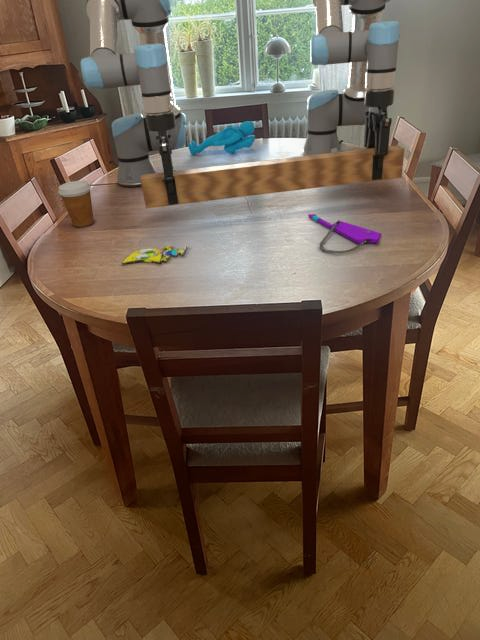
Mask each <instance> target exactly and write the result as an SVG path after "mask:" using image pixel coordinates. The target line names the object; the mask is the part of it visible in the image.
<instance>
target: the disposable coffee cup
mask: <svg viewBox="0 0 480 640" xmlns="http://www.w3.org/2000/svg"><path fill="white" fill-rule="evenodd" d="M58 195H59V196H60V197H61V199H62V201H63V203H64V206H65V208H66V211H67V213H68V215H69V218H70V221H71V223H72V225H73V227H78V228H80V227H81V228H82V227H87V226H90V225H92V224H93V223H94V221H95V220H94V213H93V211H94V210H93V203H92V196H91V195H92V194H91V185H90V184H89V182H88V181H86V180H73V181H69V182H65V183H62V184H61V185H59V186H58Z"/></svg>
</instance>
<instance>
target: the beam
mask: <svg viewBox="0 0 480 640" xmlns="http://www.w3.org/2000/svg"><path fill="white" fill-rule="evenodd" d="M372 155H375V148H370V149H366V148H361V149H354V150H353V149H352V150H345V151H341V152H335V153H326V154H318V155H309V156H304V155H302V156H301V155H300V156H292V157H285V158H275V159H268V160H267V159H266V160H259V161H258V160H257V161H250V162H249V161H248V162H240V163H233V164H232V163H231V164H224V165H216V166H214V165H213V166H207V167H196V168H190V169H180V170H176V171H173V175H174V178H175V179H174V180H175V184H176V191H177V197H178V204H170V205H169V203H168V197H167V191H166V185H165V182H163V181H162V180H164V178H165V177H164V171H163V172H162V171H161V172H157V173H153V174H145V175H141V179H140V180H141V185H142V186H141V189H142V195H143V200H144V205H145V206H144V207H145V209H152V208H160V207H169V206H170V207H171V206H178V205H185V204H194V203H202V202H210V201H212V202H213V201H219V200H227V199H228V200H229V199H235V198H243V197H244V198H245V197H251V196H253V197H254V196H261V195H268V194H276V193H286V192H293V191H294V192H295V191H302V190H311V189H319V188H327V187H334V186H344V185H350V184H351V185H352V184H358V183H368V182H375V181H376V182H377V181H384V180H393V179H402V176H403V167H404V157H405V147H403V146H400V145H398V144H396V145H389V146H388V155H385V156H384V158H383V170H382V179H377V180H372V169H373V156H372Z"/></svg>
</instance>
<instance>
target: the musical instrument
mask: <svg viewBox="0 0 480 640" xmlns="http://www.w3.org/2000/svg"><path fill="white" fill-rule="evenodd" d="M308 218H309V219H311V220H313V221H314V222H316V223H318V224H320V225H322V226H324V227H326V228H328V229H330V230H329V231H328V232H327V233H326V234H325V236H324V237H323V239H322V240H321V241H320V243H319V249H320V250H321V251H323V252H324V253H325V252H326V253H335V254H344V253H348V252H352V251H355V250H356V249H358V248H360V247H361V246H363V245H364V244H366V243H371V244H378V243H379V242H380V239H381V237H382V233H381V232H378V231H376V230H371V229H368V228H365V227H362V226H358V225H355V224H353V223H348V222H345V221H342V220H339V219H338V220H337V221H336V222H334V223H331V222H328V221H327V220H324V219H323V218H321V217H319V216H318V215H317V214H315V213H309V214H308ZM333 231H334V232H335V233H337V234H339V235H341V236H343V237H344V238H346V239H348V240H349V241H352V242H354V243H355V244H357V245H356V246H354V247H352V248H350V249H346V250H332V249H325V248H324V243H325V242H326V240H327V238H328V237H329V236H330V235H331V233H332V232H333Z"/></svg>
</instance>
